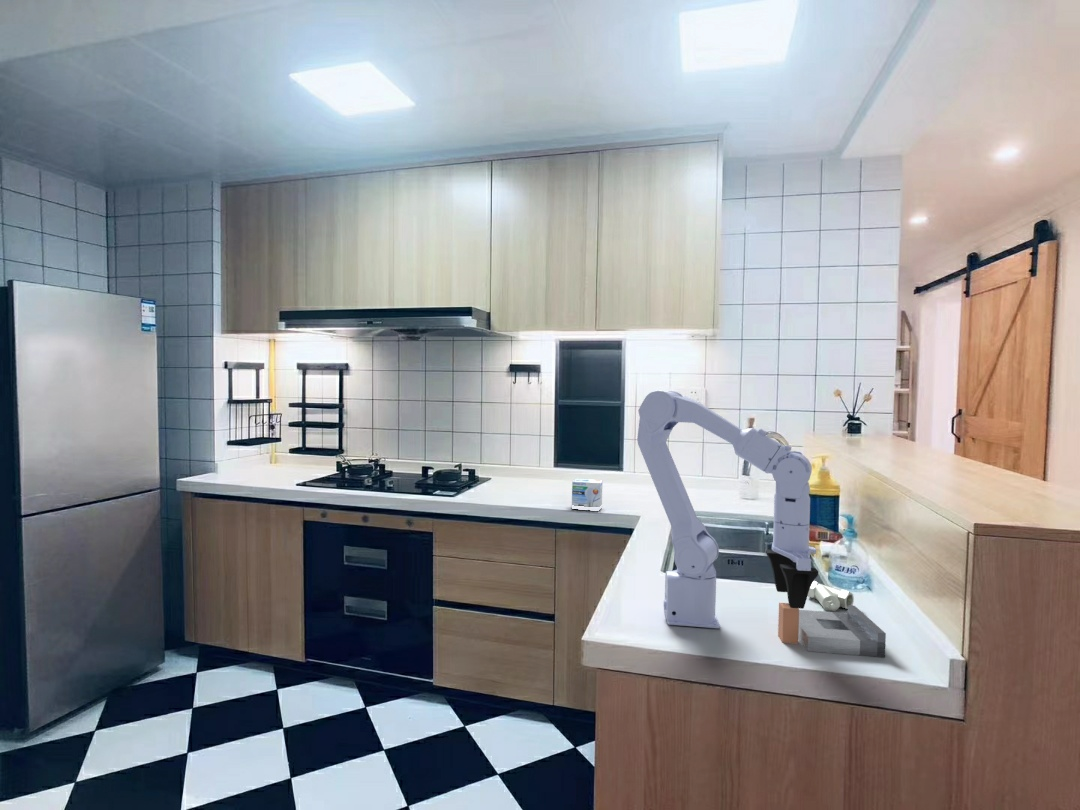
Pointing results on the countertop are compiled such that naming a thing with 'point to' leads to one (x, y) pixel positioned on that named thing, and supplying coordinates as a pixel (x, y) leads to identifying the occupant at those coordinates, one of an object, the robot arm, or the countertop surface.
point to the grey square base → (841, 633)
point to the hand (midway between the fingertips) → (789, 599)
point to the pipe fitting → (830, 596)
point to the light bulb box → (587, 493)
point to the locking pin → (788, 623)
